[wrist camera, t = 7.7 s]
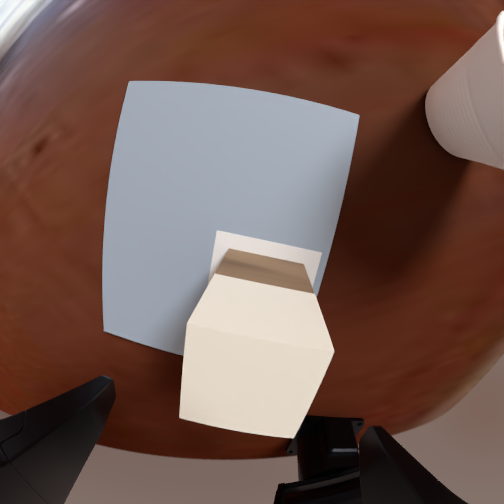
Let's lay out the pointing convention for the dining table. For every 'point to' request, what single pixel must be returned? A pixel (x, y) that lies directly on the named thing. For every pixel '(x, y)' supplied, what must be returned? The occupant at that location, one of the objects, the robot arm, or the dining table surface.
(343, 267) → the dining table surface
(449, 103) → the cup
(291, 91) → the dining table surface
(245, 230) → the mat
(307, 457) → the robot arm
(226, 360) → the cream block
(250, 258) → the walnut block
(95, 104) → the dining table surface
